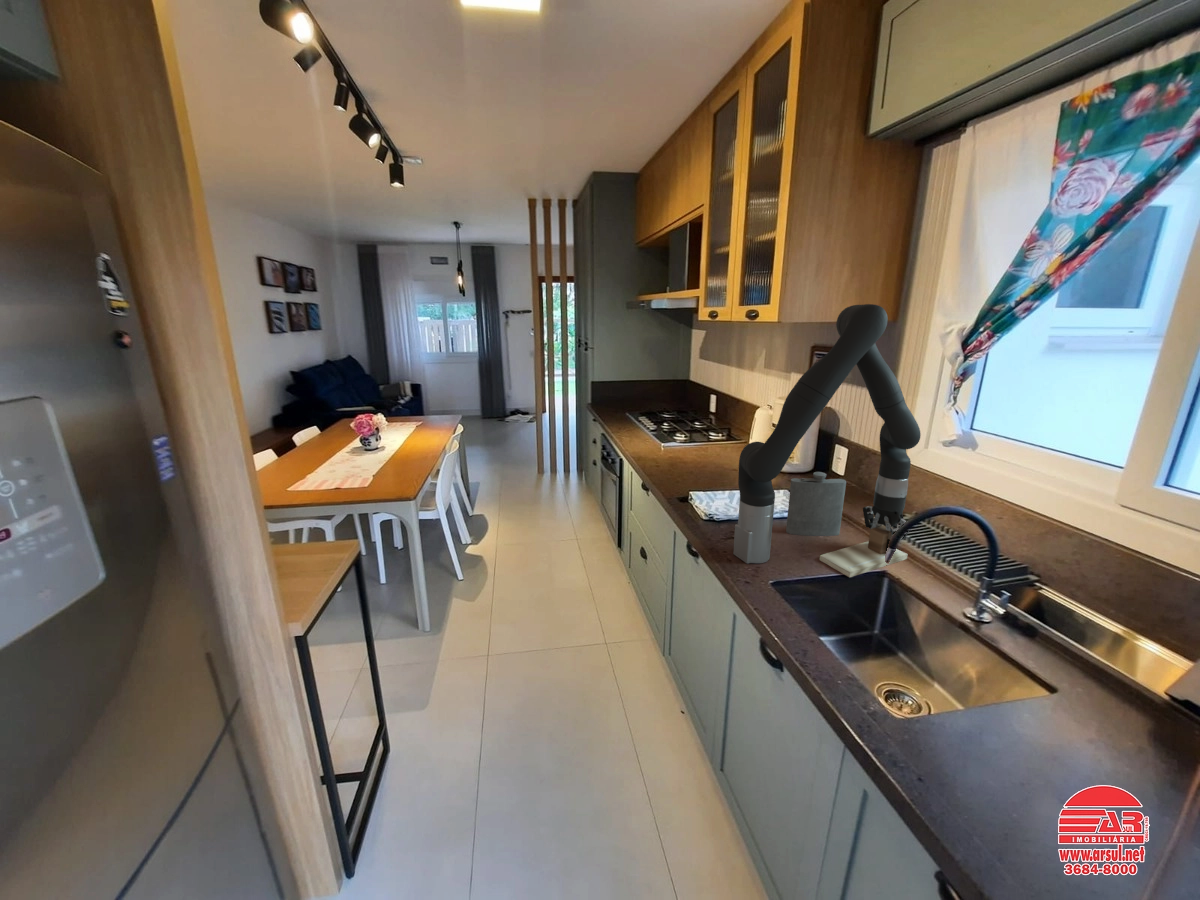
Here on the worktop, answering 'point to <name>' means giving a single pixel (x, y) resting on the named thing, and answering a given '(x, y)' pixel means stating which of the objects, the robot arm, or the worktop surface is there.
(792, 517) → the hip flask
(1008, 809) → the worktop surface
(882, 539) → the block
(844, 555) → the birch board
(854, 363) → the robot arm
